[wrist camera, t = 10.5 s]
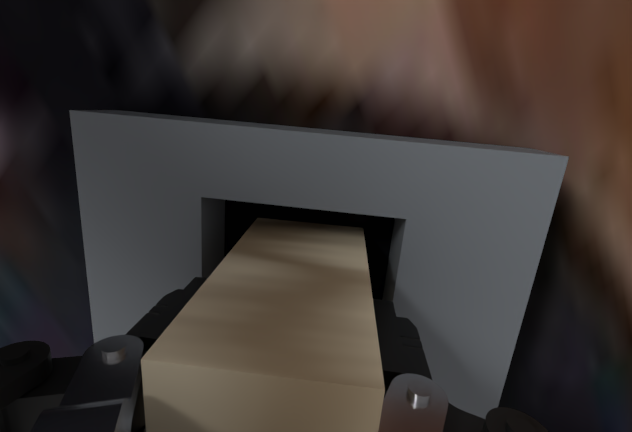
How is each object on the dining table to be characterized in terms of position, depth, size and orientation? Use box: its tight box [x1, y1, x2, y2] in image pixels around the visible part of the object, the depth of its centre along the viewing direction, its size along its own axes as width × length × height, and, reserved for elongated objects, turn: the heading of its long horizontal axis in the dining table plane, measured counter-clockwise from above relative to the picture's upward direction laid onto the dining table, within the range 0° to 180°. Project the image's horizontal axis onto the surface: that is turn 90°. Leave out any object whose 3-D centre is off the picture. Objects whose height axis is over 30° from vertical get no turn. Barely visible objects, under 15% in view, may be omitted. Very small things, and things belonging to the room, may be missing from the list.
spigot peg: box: [141, 218, 385, 432], centre depth 11 cm, size 4×4×9 cm
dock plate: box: [69, 110, 569, 419], centre depth 14 cm, size 16×12×2 cm
